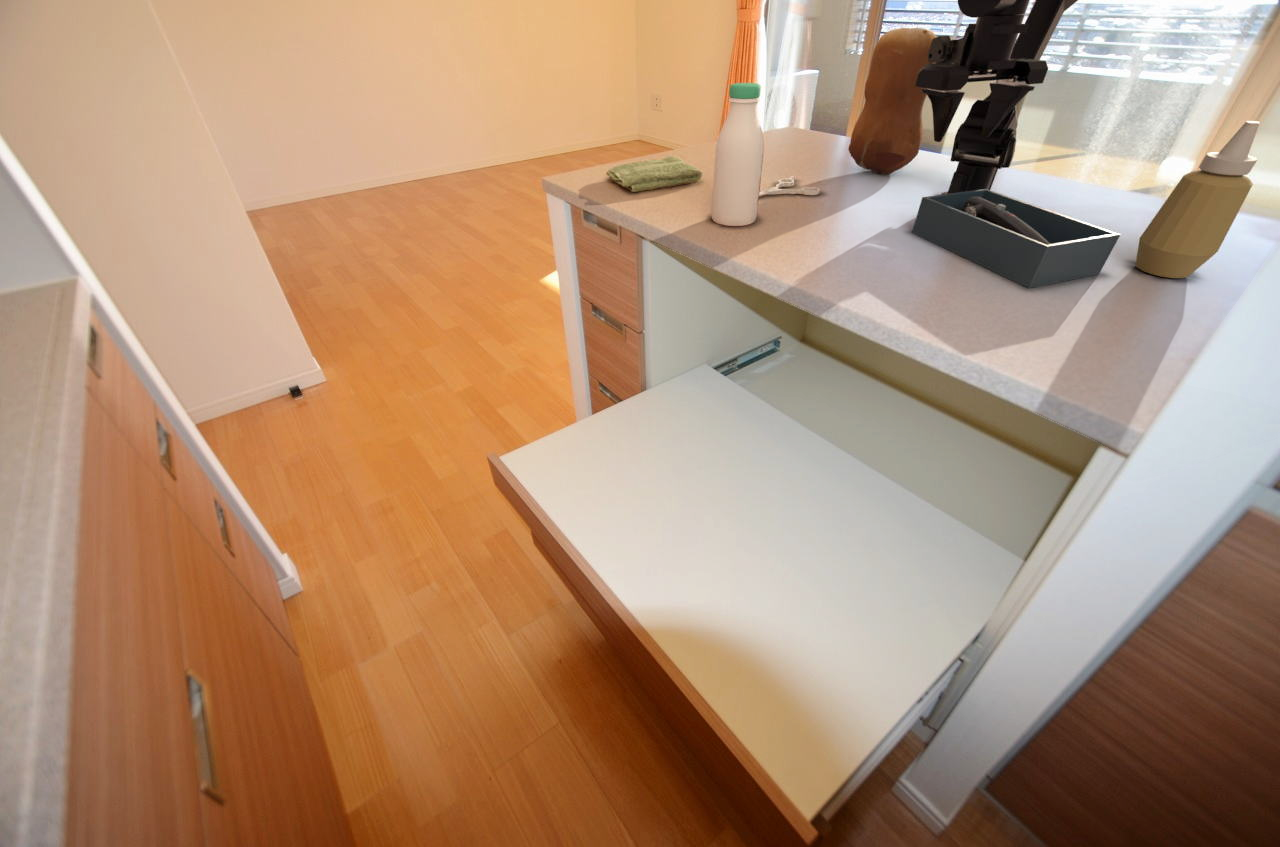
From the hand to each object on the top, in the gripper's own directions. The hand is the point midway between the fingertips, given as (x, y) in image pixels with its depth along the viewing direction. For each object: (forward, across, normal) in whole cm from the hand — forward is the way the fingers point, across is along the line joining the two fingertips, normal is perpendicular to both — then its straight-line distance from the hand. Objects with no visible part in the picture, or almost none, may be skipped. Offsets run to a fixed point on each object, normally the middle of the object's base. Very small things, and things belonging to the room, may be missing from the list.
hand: (961, 139), depth 85 cm
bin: (+12, +3, +16) cm, 20 cm away
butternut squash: (+12, -9, -28) cm, 32 cm away
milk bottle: (+12, +33, -11) cm, 37 cm away
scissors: (+12, +20, -22) cm, 32 cm away
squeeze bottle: (+12, -12, +29) cm, 34 cm away
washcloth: (+12, +38, -39) cm, 56 cm away
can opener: (+12, +3, +16) cm, 20 cm away
